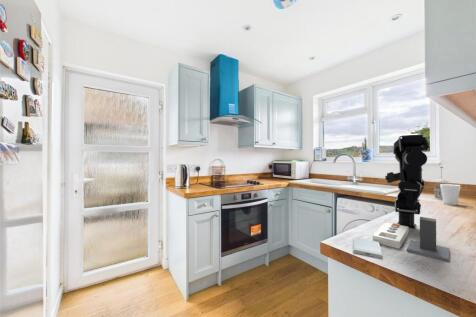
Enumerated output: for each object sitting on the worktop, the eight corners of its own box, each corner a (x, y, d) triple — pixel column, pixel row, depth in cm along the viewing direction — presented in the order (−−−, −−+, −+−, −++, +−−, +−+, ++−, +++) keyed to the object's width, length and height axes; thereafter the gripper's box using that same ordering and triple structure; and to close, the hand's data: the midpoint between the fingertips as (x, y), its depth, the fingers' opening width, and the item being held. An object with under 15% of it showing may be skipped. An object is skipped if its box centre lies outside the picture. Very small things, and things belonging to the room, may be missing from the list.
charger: (420, 244, 72) (420, 216, 72) (436, 248, 69) (436, 219, 69) (419, 248, 69) (419, 219, 69) (436, 252, 66) (436, 221, 66)
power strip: (385, 227, 91) (385, 221, 91) (408, 232, 85) (408, 225, 86) (372, 241, 76) (372, 233, 76) (399, 248, 70) (399, 239, 70)
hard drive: (353, 237, 79) (353, 249, 68) (379, 241, 74) (382, 254, 64) (353, 241, 79) (353, 254, 68) (379, 245, 74) (383, 260, 64)
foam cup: (462, 206, 131) (462, 186, 131) (443, 204, 136) (443, 185, 136) (457, 203, 139) (456, 184, 139) (438, 201, 144) (438, 183, 144)
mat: (411, 241, 76) (411, 239, 76) (449, 250, 69) (449, 248, 69) (406, 251, 69) (406, 248, 69) (449, 261, 61) (449, 259, 61)
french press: (437, 200, 150) (437, 166, 150) (428, 197, 161) (428, 166, 161) (454, 201, 147) (454, 166, 147) (444, 198, 158) (443, 166, 158)
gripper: (391, 165, 92) (391, 199, 92) (381, 166, 79) (382, 206, 79) (424, 165, 83) (425, 203, 83) (420, 166, 71) (420, 211, 71)
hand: (412, 205), depth 79 cm, fingers open, 9 cm apart
